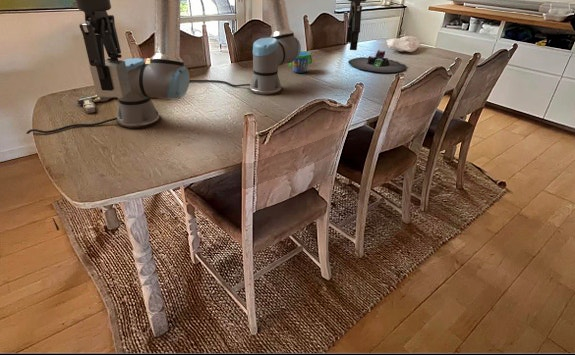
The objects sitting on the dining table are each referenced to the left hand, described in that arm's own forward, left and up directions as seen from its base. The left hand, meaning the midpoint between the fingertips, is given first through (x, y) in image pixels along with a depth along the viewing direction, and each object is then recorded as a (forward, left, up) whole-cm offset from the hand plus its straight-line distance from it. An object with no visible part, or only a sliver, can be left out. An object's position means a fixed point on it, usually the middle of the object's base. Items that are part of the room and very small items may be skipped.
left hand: (112, 85), depth 100 cm
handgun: (-32, +50, -26) cm, 65 cm away
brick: (0, 0, -2) cm, 2 cm away
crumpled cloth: (+126, +172, -26) cm, 215 cm away
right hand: (+74, +64, -1) cm, 98 cm away
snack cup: (+54, +109, -26) cm, 125 cm away
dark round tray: (+101, +129, -26) cm, 166 cm away
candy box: (-14, +63, -26) cm, 70 cm away
